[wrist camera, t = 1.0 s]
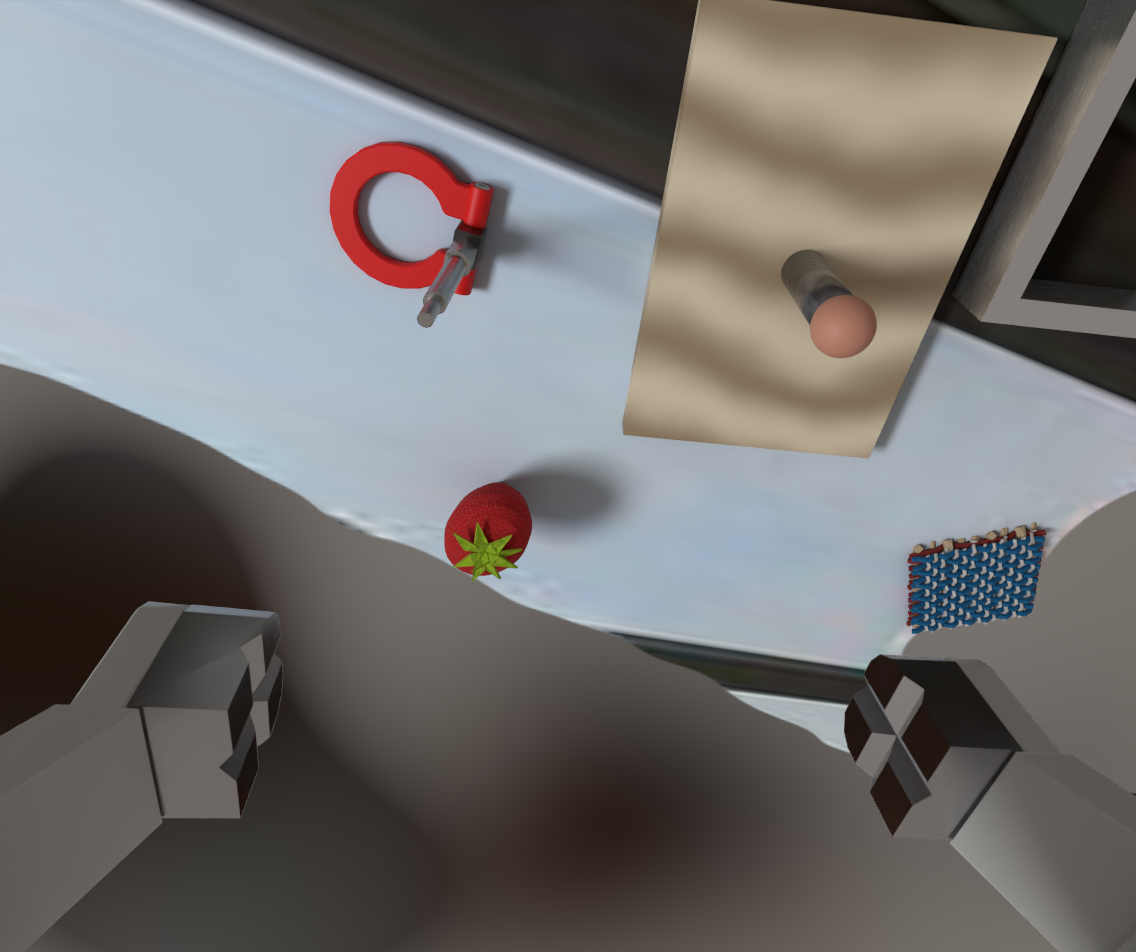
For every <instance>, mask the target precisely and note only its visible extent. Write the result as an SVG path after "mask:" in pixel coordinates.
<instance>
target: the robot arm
mask: <svg viewBox="0 0 1136 952" xmlns="http://www.w3.org/2000/svg"><path fill="white" fill-rule="evenodd" d="M280 636H281V634H280V624H279V616H278V615H277V614H276V613H274V612H265V611H254V610H244V609H233V608H222V607H210V606H200V605H191V606H189V605H179V604H169V603H159V602H147V603H145V604H144V605H142V606H141V607H139V608H138V609H137V610H136V611H135V612H134V614H133V615H132V617H131V618H130V620H129V621H128V623H127V624H126V625H125V627H124V628H123V630H122V631H121V632H120V634H119V635H118V637H117V638H116V640H115V641H114V643H113V644H112V645H111V647H110V648H109V650H108V651H107V652H106V654H105V655H104V657H103V658H102V660H101V661H100V662H99V664H98V665H97V667H96V668H95V670H94V671H93V672H92V674H91V675H90V677H89V678H88V680H87V681H86V683H85V684H84V685H83V687H82V689H81V690H80V691H79V693H78V694H77V695H76V697H75V698H74V700H73V701H72V703H71V704H70V705H54V706H52V707H50V708H48V709H47V710H45V711H43V712H42V713H40V714H38V715H36V716H35V717H33V718H31V719H29V720H28V721H26V722H24V723H22V724H21V725H19V726H17V727H15V728H14V729H12V730H10V731H8V732H7V733H5V734H3V735H1V736H0V952H24V951H25V950H26V949H27V948H28V947H29V946H30V945H31V944H33V943H34V942H35V941H36V940H37V939H38V938H39V937H40V936H41V935H42V934H43V933H44V932H45V931H46V930H48V929H49V927H51V926H52V925H53V924H54V923H55V922H56V921H57V920H58V919H59V918H60V917H61V916H62V915H64V914H65V912H67V911H68V910H69V909H70V908H71V907H72V906H73V905H74V904H75V903H76V902H77V901H79V900H80V899H81V898H82V897H83V896H84V895H85V894H86V893H87V892H88V891H89V890H90V889H91V888H93V887H94V886H95V885H96V884H97V883H98V882H99V881H100V880H101V879H102V878H103V877H104V876H105V875H106V874H107V873H109V872H110V871H111V870H112V869H113V868H114V867H115V866H116V865H117V864H118V863H119V862H120V861H121V860H123V859H124V858H125V857H126V856H127V855H128V854H129V853H130V852H131V851H132V850H133V849H134V848H135V847H137V846H138V845H139V844H140V843H141V842H142V841H143V840H144V839H145V838H146V837H147V836H148V835H149V834H151V832H152V831H154V830H155V829H156V828H157V827H158V826H159V825H160V824H161V823H162V818H241V815H242V812H243V809H244V807H245V804H246V801H247V799H248V796H249V793H250V791H251V788H252V785H253V782H254V779H255V777H256V774H257V771H258V769H259V767H258V753H257V747H258V746H259V745H260V744H262V743H263V742H264V741H265V740H267V739H268V738H269V737H270V735H271V732H272V729H273V726H274V723H275V720H276V717H277V713H278V708H279V703H280V699H281V694H282V682H283V669H282V661H281V660H280V659H279V658H278V657H277V656H276V655H275V654H274V651H275V649H276V646H277V644H278V641H279V638H280ZM864 676H865V678H866V681H867V684H868V686H867V687H865V688H864V689H862V690H861V691H859V692H858V693H856V694H855V695H853V696H852V698H851V700H850V703H849V705H848V707H847V709H846V711H845V721H844V734H845V738H846V742H847V746H848V749H849V751H850V753H851V755H852V757H853V759H854V761H855V763H856V764H857V765H858V766H859V767H860V768H862V769H863V770H864V771H865V772H866V773H867V774H869V775H870V776H871V777H872V778H873V779H872V784H871V788H870V793H871V795H872V797H873V799H874V801H875V803H876V805H877V807H878V809H879V811H880V813H881V815H882V817H883V819H884V821H885V823H886V825H887V827H888V829H889V831H890V833H891V835H892V837H902V838H904V837H905V838H919V839H937V840H952V842H951V843H950V844H951V845H952V846H953V847H954V848H955V849H956V850H957V851H958V852H959V853H960V854H961V855H962V856H963V857H964V858H965V859H966V860H967V861H968V862H969V863H970V864H971V865H972V866H974V868H975V869H976V870H977V871H978V872H980V874H981V875H983V877H984V878H986V879H987V880H988V881H989V882H990V883H991V884H992V885H993V886H994V887H995V888H996V889H997V890H998V891H999V892H1000V893H1001V894H1002V895H1003V896H1004V897H1005V898H1006V899H1007V900H1008V901H1009V902H1010V903H1011V904H1012V905H1013V906H1014V907H1015V908H1016V909H1017V910H1018V911H1019V912H1020V913H1021V914H1022V915H1023V916H1024V917H1025V918H1026V919H1027V920H1028V921H1029V922H1030V923H1031V924H1032V925H1033V926H1034V927H1035V928H1036V929H1037V930H1038V931H1039V932H1040V933H1041V934H1042V935H1043V936H1044V937H1045V938H1046V939H1047V940H1048V941H1049V942H1050V943H1051V944H1052V945H1053V946H1054V947H1055V948H1056V949H1057V950H1058V951H1059V952H1136V796H1134V795H1133V794H1131V793H1130V792H1128V791H1127V790H1125V789H1123V788H1122V787H1120V786H1119V785H1117V784H1116V783H1114V782H1113V781H1111V780H1110V779H1108V778H1107V777H1105V776H1104V775H1102V774H1101V773H1099V772H1098V771H1096V770H1094V769H1093V768H1091V767H1090V766H1088V765H1087V764H1085V763H1084V762H1082V761H1081V760H1079V759H1078V758H1076V757H1075V756H1073V755H1068V754H1061V753H1060V751H1059V750H1058V749H1057V748H1056V746H1055V745H1054V744H1053V743H1052V741H1051V740H1050V739H1049V738H1048V736H1047V735H1046V734H1045V733H1044V732H1043V730H1042V729H1041V728H1040V727H1039V725H1038V724H1037V723H1036V722H1035V721H1034V719H1033V718H1032V717H1031V716H1030V714H1029V713H1028V712H1027V711H1026V710H1025V708H1024V707H1023V706H1022V705H1021V703H1020V702H1019V701H1018V700H1017V698H1016V697H1015V696H1014V695H1013V694H1012V692H1011V691H1010V690H1009V689H1008V687H1007V686H1006V685H1005V684H1004V683H1003V681H1002V680H1001V679H1000V678H999V676H998V675H997V674H996V673H995V671H994V670H993V669H992V668H991V667H990V666H988V665H987V664H985V663H984V662H982V661H980V660H974V659H955V658H945V659H942V658H931V657H915V656H899V655H882V654H880V655H878V656H877V657H876V658H874V659H873V660H871V662H870V663H869V665H868V667H867V669H866V671H865V673H864Z"/></svg>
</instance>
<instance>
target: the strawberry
mask: <svg viewBox="0 0 1136 952" xmlns="http://www.w3.org/2000/svg"><path fill="white" fill-rule="evenodd" d="M531 531H532V519H531V516H530V512H529V509H528V506H527V503H526V501H525V499H524V497H523V496H522V495H521V494H520V493H519V492H518V491H517V490H515V489H514V488H512V487H511V486H509V485H507V484H505V483H500V482H498V483H490V484H487V485H484V486H482V487H480V488H477V489H475V490H474V491H472V492H470V493H469V494H468V495H467V496H465V497H464V498H463V500H462V501H461V502H460V503H459V505H458V506H457V507H456V509H455V510H454V512H453V513H452V515H451V516H450V518H449V520H448V522H447V524H446V527H445V535H444V538H445V552H446V554H447V557H448V559H449V560H450V562H451V563H452V564H453V565H454V566H453V567H456V568H458V569H460V570H461V571H463V572H466V573H468V574H471V575H473V579H472V582H473V581H474V580H475V579H476V578H477V577H478V576H485V575H491V574H493V575H494V576H496V577H497V578H499V579H500V578H501V577H500V575H499V573H498V572H500V571H502V570H504V569H506V568H518V567H517V566H516V565H514V563H515V562H516V561H517V560H518V559H519V558H520V557H521V555H522V554H523V552H524V551H525V549H526V546H527V544H528V541H529V538H530V536H531Z"/></svg>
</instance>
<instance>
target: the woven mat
mask: <svg viewBox="0 0 1136 952" xmlns="http://www.w3.org/2000/svg"><path fill="white" fill-rule="evenodd" d="M1007 531H1008V527H1007V528H1002V529H1001V532H1000V537H997V535H996V534H995V533H994V532H993V531H991V532H988V533H987V534H986V537H985V540H980V536H979V535H977V536H971V540H970V542H968V543H964V538H961V539H957V543H953V542H952V540H946V541H942V542H943V544H941V545H940V546H939V547H938V548H936V542H935V541H931V545H930V550H925V551H922V550H923V548H922V547H921V546H920V545H917V546H915V547H914V548H913V554H909V559H908V563H911V564H913V566H909V571H911V574H909V578H910V579H912V580H909V585H908V586H907V588H908V589H909V590H911V589H912V593H909V597H910V598H908V601H909V603H912V604H910V605H908V607H909V610H911V611H908V614H909V616H911V617H908V620H909V621H907V625H908V626H910V625H913V627H914V628H916V629H912V634H918V633H919V632H921V631H923V630H924V631H928V630H930V631H931V633H934V631H935V630H936V629H941V628H942V627H949V628H950V630H953V628H954V627H955V626H956V625H957V626H961V625H963V624H965V626H967V627H968V625H972V624H974V623H975V622H976V624H978V623H980V622H984V624H987V622H989V621H990V620H991V621H994V620H995V619H996V618H1000V619H1003V621H1006V620H1007V619H1008V618H1009V617H1011V618H1014V617H1016V615H1018V618H1021V616H1027V615H1028V614H1029V613H1031V612H1032V609H1033V606H1034V605H1033V604H1032V603H1029V602H1031V601H1034V596H1035V594H1036V591H1035V589H1036V587H1037V586H1036V584H1035V583H1037V582H1038V577H1035V576H1038V575H1039V574H1038V573H1039V571H1038V570H1039V569H1040V566H1041V565H1040V564H1037V563H1041V557H1039V556H1042V551H1040V549H1043V547H1044V546H1043V543H1041V542H1045V537H1044V536H1042V535H1046V531H1045V530H1039V531H1037V522H1035V523H1032V524H1031V528H1030V531H1027V530H1026V529H1025V526H1022V527H1017V528H1015V531H1012V532H1011V533H1010V534H1009V535H1007ZM1027 536H1028V537H1027ZM1036 536H1037V537H1036ZM996 537H997V538H996ZM1026 537H1027V538H1026ZM1011 539H1012V540H1011ZM1008 540H1010V541H1008ZM1007 541H1008V542H1007ZM1038 542H1039V543H1038ZM1036 543H1037V544H1036ZM954 548H955V549H954ZM941 551H942V553H940V552H941ZM939 553H940V554H939ZM924 556H925V557H924ZM951 558H952V559H951ZM979 560H981V561H979ZM937 561H938V562H937ZM921 563H922V564H921ZM993 564H994V565H993ZM1022 566H1023V567H1022ZM949 571H950V572H949ZM967 574H968V575H967ZM966 575H967V576H966ZM921 576H922V577H921ZM938 580H939V581H938ZM1005 580H1006V581H1005ZM1033 582H1035V583H1033ZM1031 583H1032V584H1031ZM922 595H924V596H922ZM1032 595H1033V596H1032ZM949 597H950V598H949ZM965 600H966V601H965ZM1002 600H1003V601H1002ZM919 602H920V603H919ZM947 603H948V604H947ZM1027 608H1028V609H1027ZM1024 609H1026V610H1025V611H1024ZM1001 612H1002V613H1001ZM919 613H921V614H919ZM999 613H1001V614H999ZM971 617H973V618H972V619H971ZM954 620H955V621H954ZM935 623H936V624H935Z"/></svg>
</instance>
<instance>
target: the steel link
mask: <svg viewBox="0 0 1136 952" xmlns="http://www.w3.org/2000/svg"><path fill="white" fill-rule="evenodd" d="M1135 78H1136V0H1087V2H1086V4H1085V6H1084V9H1083V11H1082V13H1081V15H1080V17H1079V19H1078V22H1077V24H1076V26H1075V28H1074V30H1073V33H1072V35H1071V37H1070V39H1069V41H1068V43H1067V46H1066V48H1065V50H1064V52H1063V54H1062V57H1061V59H1060V61H1059V63H1058V65H1057V67H1056V70H1055V72H1054V74H1053V76H1052V78H1051V80H1050V83H1049V85H1048V87H1047V89H1046V91H1045V94H1044V96H1043V98H1042V100H1041V102H1040V104H1039V107H1038V109H1037V111H1036V113H1035V115H1034V118H1033V120H1032V122H1031V124H1030V126H1029V128H1028V131H1027V133H1026V135H1025V137H1024V139H1023V142H1022V144H1021V146H1020V148H1019V150H1018V152H1017V155H1016V157H1015V159H1014V161H1013V163H1012V166H1011V168H1010V170H1009V172H1008V174H1007V176H1006V179H1005V181H1004V183H1003V185H1002V187H1001V190H1000V192H999V194H998V196H997V198H996V200H995V203H994V205H993V207H992V209H991V211H990V214H989V216H988V218H987V220H986V222H985V224H984V227H983V229H982V231H981V233H980V235H979V238H978V240H977V242H976V244H975V246H974V248H973V251H972V253H971V255H970V257H969V259H968V262H967V264H966V266H965V268H964V270H963V272H962V275H961V277H960V279H959V281H958V283H957V285H956V288H955V290H954V292H953V294H952V296H953V297H955V298H956V299H957V300H958V301H959V302H960V303H961V304H962V305H963V306H964V307H966V308H967V309H968V310H969V311H970V312H971V313H972V314H973V315H974V316H976V317H977V318H978V319H979V320H980V321H982V322H991V323H1000V324H1010V325H1019V326H1028V327H1038V328H1047V329H1056V330H1065V331H1075V332H1084V333H1093V334H1102V335H1112V336H1121V337H1130V338H1136V290H1129V289H1120V288H1111V287H1102V286H1093V285H1084V284H1075V283H1066V282H1057V281H1049V280H1040V279H1031V277H1032V275H1033V273H1034V271H1035V269H1036V267H1037V266H1038V264H1039V262H1040V260H1041V258H1042V256H1043V254H1044V252H1045V250H1046V248H1047V246H1048V244H1049V243H1050V241H1051V239H1052V237H1053V235H1054V233H1055V231H1056V229H1057V227H1058V225H1059V223H1060V221H1061V220H1062V218H1063V216H1064V214H1065V212H1066V210H1067V208H1068V206H1069V204H1070V202H1071V200H1072V198H1073V197H1074V195H1075V193H1076V191H1077V189H1078V187H1079V185H1080V183H1081V181H1082V179H1083V177H1084V175H1085V174H1086V172H1087V170H1088V168H1089V166H1090V164H1091V162H1092V160H1093V158H1094V156H1095V154H1096V152H1097V151H1098V149H1099V147H1100V145H1101V143H1102V141H1103V139H1104V137H1105V135H1106V133H1107V131H1108V130H1109V128H1110V126H1111V124H1112V122H1113V120H1114V118H1115V116H1116V114H1117V112H1118V110H1119V108H1120V107H1121V105H1122V103H1123V101H1124V99H1125V97H1126V95H1127V93H1128V91H1129V89H1130V87H1131V85H1132V84H1133V82H1134V80H1135Z"/></svg>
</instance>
